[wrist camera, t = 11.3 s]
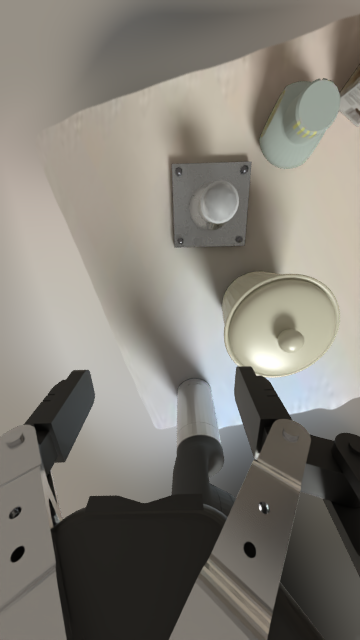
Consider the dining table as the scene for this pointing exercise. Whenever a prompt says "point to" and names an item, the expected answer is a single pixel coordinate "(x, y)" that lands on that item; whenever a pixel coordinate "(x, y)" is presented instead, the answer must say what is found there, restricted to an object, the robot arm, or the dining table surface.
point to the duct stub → (218, 202)
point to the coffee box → (351, 98)
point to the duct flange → (188, 194)
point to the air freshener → (299, 122)
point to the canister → (278, 322)
